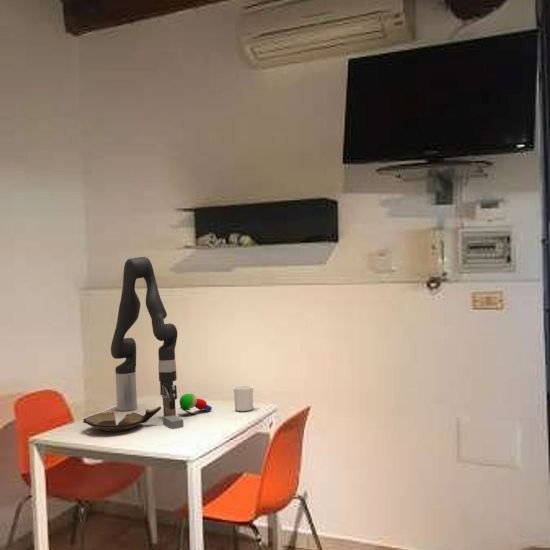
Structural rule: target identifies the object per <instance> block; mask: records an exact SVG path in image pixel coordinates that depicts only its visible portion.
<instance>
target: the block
mask: <svg viewBox="0 0 550 550" xmlns="http://www.w3.org/2000/svg"><path fill="white" fill-rule="evenodd" d="M169 401H170V400H169V397H168V396H167V395H164V396H163V397H162V406H163V407H162V409H163V417H165V416H171V415H175V416H177V415H176V408H175V409H172V410H171V409H170V402H169Z"/></svg>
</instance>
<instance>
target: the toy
mask: <svg viewBox="0 0 550 550" xmlns="http://www.w3.org/2000/svg"><path fill="white" fill-rule="evenodd" d="M207 403H208V402H207V401H206V400H205V399H203V398H197V397H196V395H195V394H194V393H185V394H183V395H182V396H180V399H179V409H180V410H182V411H184V412H186V413H189V414H192V415H194V413H193V412H191V409H193V408H194V407H195V409H198V410H199V411H203V410H204V411H207V412H211V411H212V409H213V407H212V406H211V405H209V404H207Z"/></svg>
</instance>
